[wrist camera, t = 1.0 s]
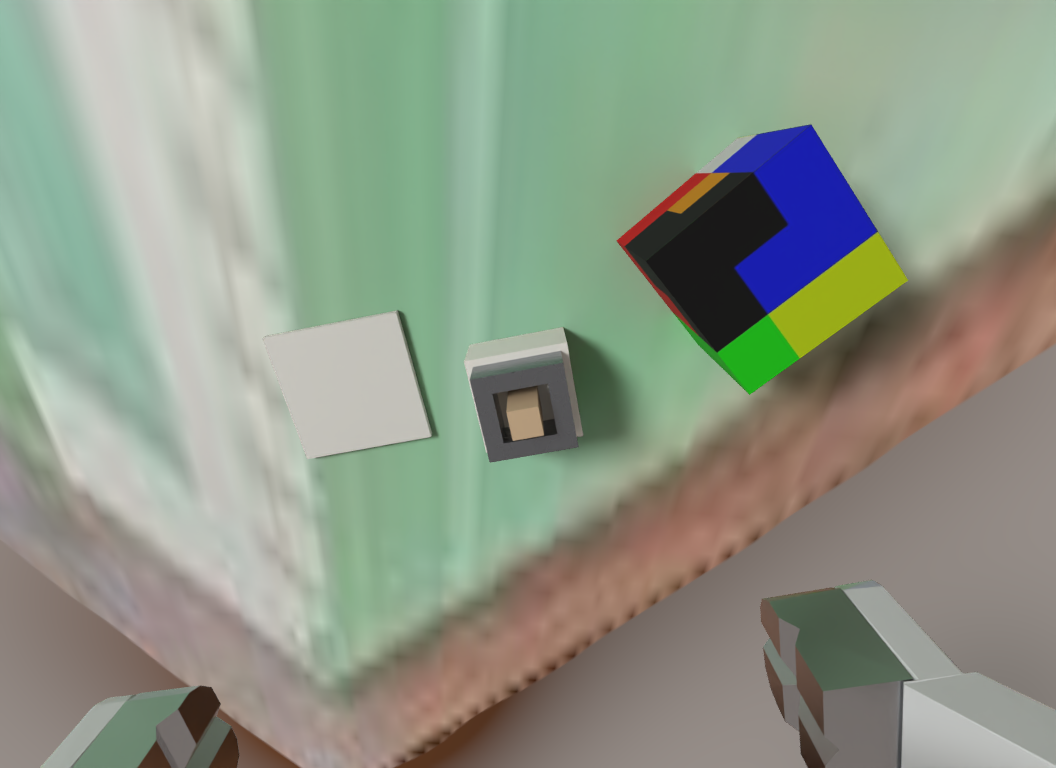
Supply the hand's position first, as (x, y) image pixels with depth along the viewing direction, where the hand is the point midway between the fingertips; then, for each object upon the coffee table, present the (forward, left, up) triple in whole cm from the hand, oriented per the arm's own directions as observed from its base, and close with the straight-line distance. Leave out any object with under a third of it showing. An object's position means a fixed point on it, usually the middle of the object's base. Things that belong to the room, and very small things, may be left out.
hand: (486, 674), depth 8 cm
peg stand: (+8, -1, -33) cm, 34 cm away
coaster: (+6, -14, -33) cm, 37 cm away
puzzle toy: (+1, +14, -34) cm, 37 cm away
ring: (+8, -1, -29) cm, 30 cm away
